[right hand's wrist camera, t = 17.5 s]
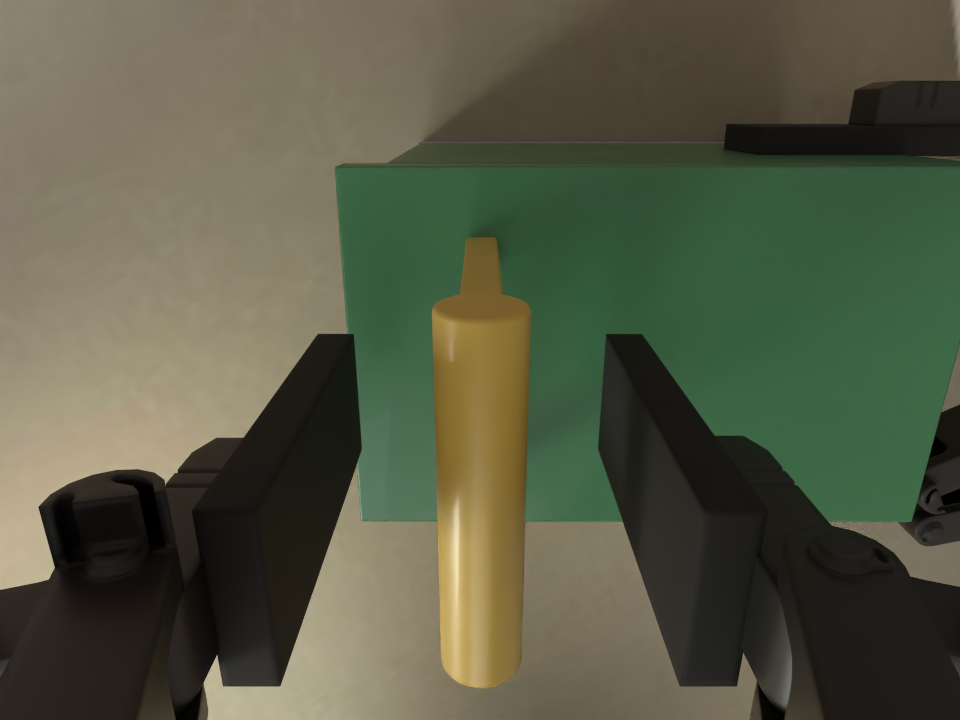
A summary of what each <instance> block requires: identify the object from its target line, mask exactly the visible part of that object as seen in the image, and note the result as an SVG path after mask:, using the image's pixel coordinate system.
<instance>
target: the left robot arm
mask: <svg viewBox="0 0 960 720" xmlns="http://www.w3.org/2000/svg"><path fill="white" fill-rule="evenodd" d="M724 149H726V150H732V151H738V152H743V153H749V154H755V155H908V156H960V81H891V82H875V83H871V84H869V85H866V86H864V87H861V88H859V89H856V90H855V92H854V97H853V103H852V108H851V113H850V119H849V124H727V126H726V134H725V142H724ZM898 523H899V524H900V525H901V526H902V527H903V528H904V529H905V530H906V531H907V532H908V533H909V534H910V535H911V536H912V537H913V538H914V539H915V540H916V541H917V542H918V543H919V544H921V545H924V546H935V545H940V544H945V543H950V542H956V541H960V405H958V406H956V407H953V408H951V409H948V410H946V411H944V412H941V415H940V418H939V422H938V426H937V429H936V433H935V437H934V441H933V444H932V448H931V452H930V455H929V459H928V463H927V466H926V470H925V474H924V477H923V481H922V485H921V489H920V492H919V496H918V500H917V503H916V507H915V511H914V514H913V518H912V521H911V522H898Z"/></svg>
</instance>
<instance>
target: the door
mask: <svg viewBox="0 0 960 720" xmlns="http://www.w3.org/2000/svg"><path fill="white" fill-rule="evenodd" d="M335 177H336V190H337V204H338V217H339V231H340V244H341V257H342V271H343V284H344V298H345V311H346V325H347V334H354V342H355V356H356V370H357V384H358V398H359V413H360V427H361V441H362V451H361V454H360V457H359V459H358V462H357V473H358V487H359V500H360V513H361V520H362V521H437V523H438V561H439V599H440V637H441V660H442V664H443V667H444V668H445V670H446V672H447V673H448V674H449V676H450V677H452V678H453V679H454V680H455V681H457V682H458V683H460V684H462V685H465V686H468V687H473V688H490V687H494V686H498V685H500V684H502V683H504V682H506V681H507V680H509V679H510V678H511V677H512V676H513V675H514V674H515V672H516V671H517V669H518V667H519V665H520V662H521V652H522V617H523V582H524V547H525V521H623V520H622V517H621V515H620V512H619V509H618V506H617V503H616V500H615V497H614V494H613V491H612V488H611V486H610V483H609V480H608V477H607V474H606V471H605V468H604V465H603V462H602V460H601V457H600V454H599V451H598V441H599V426H600V412H601V398H602V384H603V370H604V356H605V342H606V334H642V335H643V336H644V337H645V339H646V340H647V342H648V343H649V344H650V346H651V347H652V349H653V350H654V351H655V353H656V354H657V356H658V357H659V358H660V360H661V361H662V363H663V364H664V365H665V367H666V368H667V370H668V371H669V372H670V374H671V375H672V377H673V378H674V379H675V381H676V382H677V384H678V385H679V386H680V388H681V389H682V391H683V392H684V393H685V395H686V396H687V398H688V399H689V400H690V402H691V403H692V405H693V406H694V407H695V409H696V410H697V411H698V413H699V414H700V416H701V417H702V418H703V420H704V421H705V423H706V424H707V425H708V427H709V428H710V430H711V431H712V432H713V434H714V435H715V436H745V437H747V438H748V439H750V440H752V441H753V442H755V443H757V444H758V445H760V446H762V447H763V448H765V449H767V450H768V451H769V452H770V453H771V454H772V455H773V457H774V458H775V459H776V460H777V461H778V463H779V464H780V465H781V466H782V467H783V471H786V472H787V473H788V474H789V476H790V477H791V478H792V479H793V480H794V482H795V485H798V486H799V488H800V489H801V490H802V491H803V492H804V493H805V495H806V496H807V497H808V498H809V499H810V501H811V502H812V503H813V504H814V505H815V507H816V508H817V509H818V510H819V511H820V513H821V514H822V515H823V516H824V517H825V518H826V520H827V521H828V522H911V521H912V518H913V514H914V511H915V507H916V503H917V500H918V496H919V492H920V489H921V485H922V481H923V477H924V474H925V470H926V466H927V463H928V459H929V455H930V452H931V448H932V444H933V441H934V437H935V433H936V429H937V426H938V422H939V418H940V415H941V411H942V407H943V404H944V400H945V396H946V392H947V389H948V385H949V381H950V378H951V374H952V370H953V367H954V363H955V359H956V355H957V352H958V348H959V344H960V164H507V163H344V164H341V165H339V166H336V167H335Z"/></svg>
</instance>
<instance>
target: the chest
mask: <svg viewBox="0 0 960 720" xmlns="http://www.w3.org/2000/svg"><path fill="white" fill-rule="evenodd" d="M388 163H507V164H960V161H952V160H943V159H934V158H925V157H916V156H908V155H755V154H749V153H743V152H738V151H732V150H726V149H724V142H582V141H422V142H420V143H419V145H417V146H415V147H414V148H412V149H410V150H409V151H407V152H405V153H404V154H402V155H400V156H399V157H397V158H395V159H394V160H392V161H390V162H388Z"/></svg>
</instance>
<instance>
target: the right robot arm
mask: <svg viewBox="0 0 960 720" xmlns="http://www.w3.org/2000/svg"><path fill="white" fill-rule="evenodd" d="M361 451H362V441H361V427H360V413H359V398H358V384H357V370H356V356H355V342H354V334H318V335H317V336H316V337H315V339H314V340H313V342H312V343H311V344H310V346H309V347H308V349H307V350H306V351H305V353H304V354H303V356H302V357H301V358H300V360H299V361H298V363H297V364H296V365H295V367H294V368H293V370H292V371H291V372H290V374H289V375H288V377H287V378H286V379H285V381H284V382H283V384H282V385H281V386H280V388H279V389H278V391H277V392H276V393H275V395H274V396H273V397H272V399H271V400H270V402H269V403H268V404H267V406H266V407H265V409H264V410H263V411H262V413H261V414H260V416H259V417H258V418H257V420H256V421H255V423H254V424H253V425H252V427H251V428H250V430H249V431H248V432H247V434H246V435H245V437H244V438H216V439H214V440H212V441H211V442H209V443H207V444H206V445H204V446H202V447H201V448H199V449H197V450H196V451H194V452H192V453H191V455H190V456H189V457H188V458H187V459H186V461H185V462H184V463H183V464H182V465H181V467H180V468H179V469H178V473H175V474H174V475H173V476H172V477H171V479H170V480H169V481H168V482H167V483H166V486H165V481H164V479H162V478H161V477H160V476H158V475H157V474H156V473H153V472H148V471H143V470H138V469H135V470H115V471H110V472H105V473H100V474H95V475H91V476H89V477H86V478H83V479H80V480H78V481H75V482H72V483H70V484H68V485H66V486H64V487H63V488H61V489H59V490H57V491H56V492H54V493H52V494H51V495H50V496H49V497H48V498H47V499H46V500H45V501H44V502H43V503H42V504H41V505H40V506H39V511H40V514H41V518H42V522H43V525H44V529H45V533H46V536H47V540H48V544H49V547H50V551H51V555H52V558H53V562H54V566H55V569H54V571H53V573H52V575H51V577H50V579H49V580H46V581H42V582H38V583H34V584H29V585H24V586H19V587H14V588H8V589H3V590H0V720H207V717H208V706H207V699H206V694H205V688H204V681H205V678H206V676H207V674H208V672H209V670H210V668H211V666H212V664H213V662H214V660H215V658H216V656H217V655H218V661H219V666H220V672H221V677H222V683H223V686H280V685H281V683H282V680H283V677H284V674H285V671H286V668H287V665H288V662H289V659H290V656H291V654H292V651H293V648H294V645H295V642H296V639H297V636H298V633H299V630H300V628H301V625H302V622H303V619H304V616H305V613H306V610H307V607H308V604H309V601H310V599H311V596H312V593H313V590H314V587H315V584H316V581H317V578H318V575H319V572H320V570H321V567H322V564H323V561H324V558H325V555H326V552H327V549H328V546H329V544H330V541H331V538H332V535H333V532H334V529H335V526H336V523H337V520H338V517H339V515H340V512H341V509H342V506H343V503H344V500H345V497H346V494H347V491H348V488H349V486H350V483H351V480H352V477H353V474H354V471H355V468H356V465H357V462H358V459H359V457H360V454H361ZM598 451H599V454H600V457H601V460H602V462H603V465H604V468H605V471H606V474H607V477H608V480H609V483H610V486H611V488H612V491H613V494H614V497H615V500H616V503H617V506H618V509H619V512H620V515H621V517H622V520H623V523H624V526H625V529H626V532H627V535H628V538H629V541H630V544H631V546H632V549H633V552H634V555H635V558H636V561H637V564H638V567H639V570H640V573H641V575H642V578H643V581H644V584H645V587H646V590H647V593H648V596H649V599H650V601H651V604H652V607H653V610H654V613H655V616H656V619H657V622H658V625H659V628H660V630H661V633H662V636H663V639H664V642H665V645H666V648H667V651H668V654H669V657H670V659H671V662H672V665H673V668H674V671H675V674H676V677H677V680H678V683H679V685H680V686H737V683H738V677H739V672H740V666H741V661H742V655H743V652H744V654H745V656H746V658H747V661H748V663H749V665H750V667H751V669H752V671H753V673H754V675H755V677H756V679H757V683H756V688H755V694H754V699H753V704H752V709H751V714H750V720H960V587H957V586H952V585H947V584H942V583H937V582H931V581H926V580H922V579H918V578H914V577H910V575H909V573H908V571H907V569H906V567H905V566H904V565H903V563H902V562H901V561H900V560H899V559H898V557H897V556H896V555H895V554H894V553H893V552H892V551H890V550H889V549H887V548H886V547H885V546H883V545H882V544H880V543H879V542H877V541H876V540H873V539H871V538H869V537H866V536H864V535H862V534H859V533H857V532H855V531H851V530H847V529H842V528H838V527H834V526H831V524H830V523H829V522H828V521H827V520H826V518H825V517H824V516H823V515H822V514H821V513H820V511H819V510H818V509H817V508H816V507H815V505H814V504H813V503H812V502H811V501H810V499H809V498H808V497H807V496H806V495H805V493H804V492H803V491H802V490H801V489H800V488H799V486H798V485H795V482H794V480H793V479H792V478H791V477H790V476H789V474H788V473H787V472H786V471H783V467H782V466H781V465H780V464H779V463H778V461H777V460H776V459H775V458H774V457H773V455H772V454H771V453H770V452H769V451H768V450H767V449H765V448H763V447H762V446H760V445H758V444H757V443H755V442H753V441H752V440H750V439H748V438H747V437H745V436H715V435H714V434H713V432H712V431H711V430H710V428H709V427H708V425H707V424H706V423H705V421H704V420H703V418H702V417H701V416H700V414H699V413H698V411H697V410H696V409H695V407H694V406H693V405H692V403H691V402H690V400H689V399H688V398H687V396H686V395H685V393H684V392H683V391H682V389H681V388H680V386H679V385H678V384H677V382H676V381H675V379H674V378H673V377H672V375H671V374H670V372H669V371H668V370H667V368H666V367H665V365H664V364H663V363H662V361H661V360H660V358H659V357H658V356H657V354H656V353H655V351H654V350H653V349H652V347H651V346H650V344H649V343H648V342H647V340H646V339H645V337H644V336H643V335H642V334H606V342H605V356H604V370H603V384H602V398H601V412H600V426H599V441H598Z"/></svg>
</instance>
